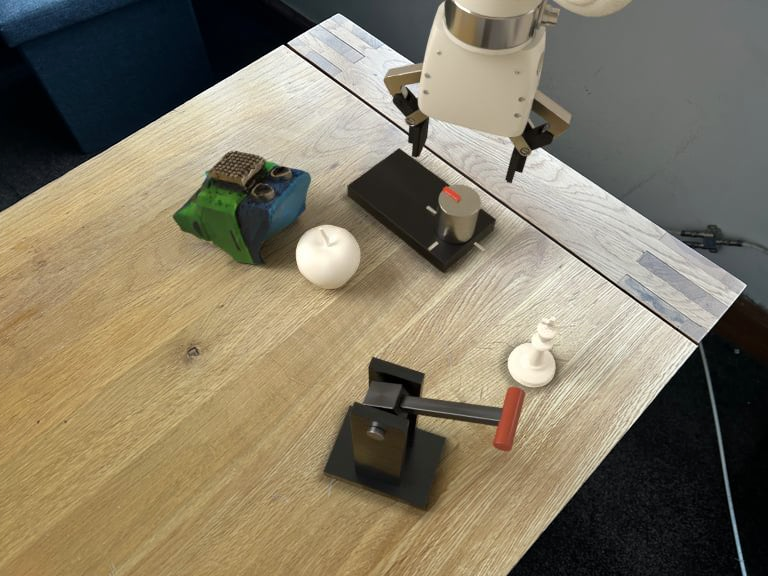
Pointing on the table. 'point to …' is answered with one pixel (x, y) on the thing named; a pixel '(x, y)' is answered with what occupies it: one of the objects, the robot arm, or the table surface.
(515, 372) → the chess piece
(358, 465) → the lever bracket
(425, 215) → the dial panel
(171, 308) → the table surface
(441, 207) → the knob
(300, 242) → the plain white apple
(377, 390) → the lever
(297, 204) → the sculpture
